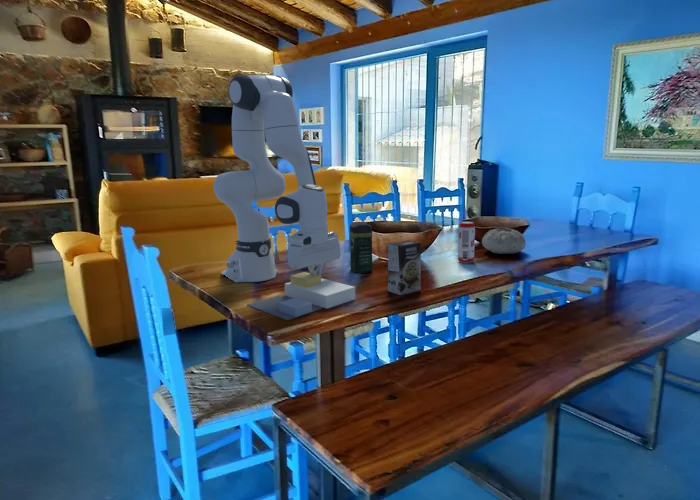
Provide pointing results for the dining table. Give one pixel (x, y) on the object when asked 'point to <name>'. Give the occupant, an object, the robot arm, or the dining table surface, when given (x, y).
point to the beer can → (466, 242)
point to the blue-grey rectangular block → (295, 307)
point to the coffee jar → (361, 247)
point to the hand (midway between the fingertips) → (316, 277)
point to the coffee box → (404, 267)
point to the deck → (322, 293)
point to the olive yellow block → (305, 279)
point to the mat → (276, 306)
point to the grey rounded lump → (504, 241)
